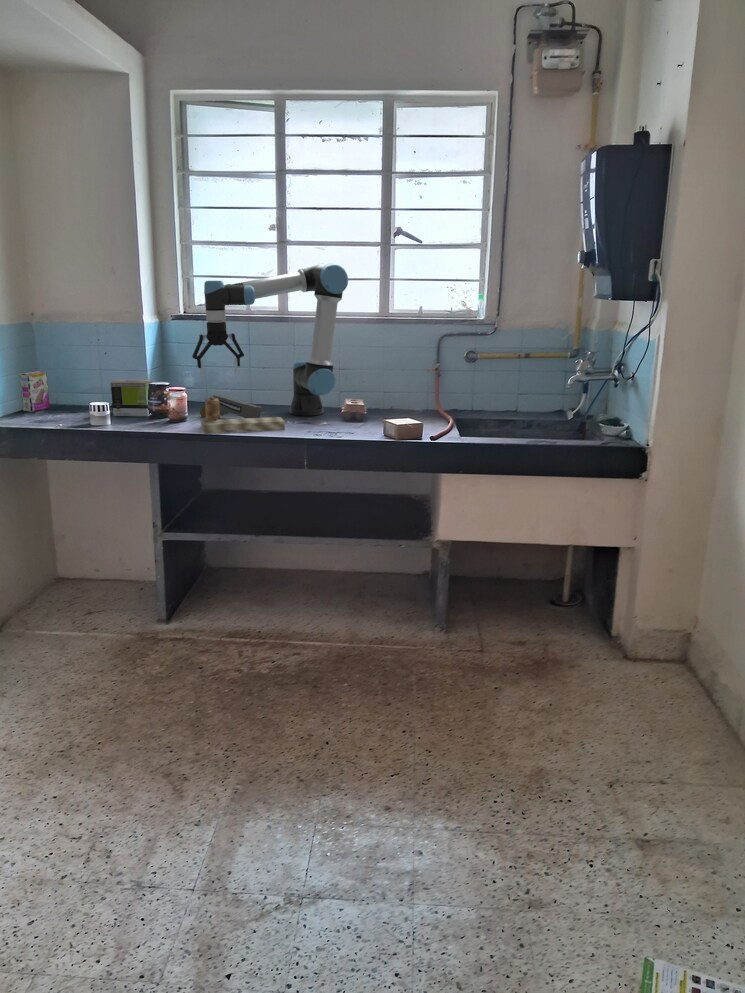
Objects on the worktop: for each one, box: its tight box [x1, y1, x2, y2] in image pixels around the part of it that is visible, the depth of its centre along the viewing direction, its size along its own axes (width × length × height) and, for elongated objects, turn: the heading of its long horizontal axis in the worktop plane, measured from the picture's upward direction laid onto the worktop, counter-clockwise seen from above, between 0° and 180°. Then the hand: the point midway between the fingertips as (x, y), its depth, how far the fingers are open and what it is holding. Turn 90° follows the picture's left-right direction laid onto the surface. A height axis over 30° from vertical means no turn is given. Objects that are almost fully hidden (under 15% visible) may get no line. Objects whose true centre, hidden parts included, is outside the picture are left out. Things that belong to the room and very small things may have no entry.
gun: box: [199, 394, 263, 419], centre depth 312 cm, size 3×25×15 cm, turn 81°
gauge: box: [204, 396, 221, 421], centre depth 291 cm, size 5×12×12 cm, turn 18°
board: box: [200, 416, 286, 435], centre depth 292 cm, size 32×9×4 cm, turn 108°
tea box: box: [110, 379, 153, 417], centre depth 314 cm, size 15×10×15 cm, turn 89°
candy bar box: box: [19, 370, 50, 413], centre depth 318 cm, size 11×5×16 cm, turn 162°
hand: (219, 375), depth 294 cm, fingers open, 13 cm apart
